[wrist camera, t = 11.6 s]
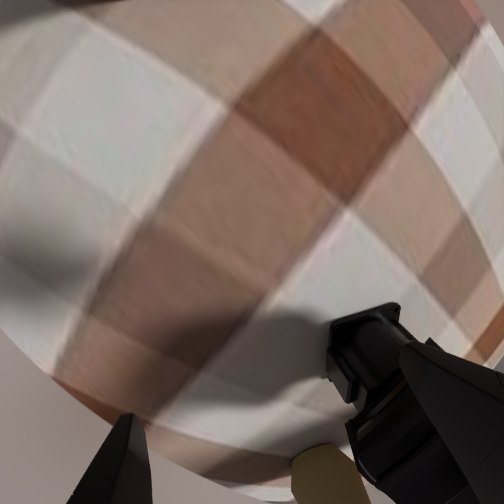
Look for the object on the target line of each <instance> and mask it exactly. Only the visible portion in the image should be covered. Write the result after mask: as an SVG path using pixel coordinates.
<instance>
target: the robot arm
mask: <svg viewBox="0 0 504 504" xmlns="http://www.w3.org/2000/svg"><path fill="white" fill-rule="evenodd" d="M400 310H401V306H400V305H399V304H398V303H392V304H389V305H386V306H383V307H380V308H377V309H374V310H371V311H368V312H364V313H361V314H358V315H355V316H352V317H348V318H345V319H342V320H338V321H335V322H333V323H332V324H331V326H330V335H329V347H328V349H327V356H326V372H327V374H328V375H327V377H328V379H329V381H330V382H333V384H334V385H335V387H336V388H337V390H338V392H339V393H340V395H341V397H342V398H343V400H344V402H345V403H347V404H350V403H353V404H354V406H355V408H356V409H357V411H358V412H359V413H358V414H357V415H356V416H354V417H353V418H352V419H349V420H348V421H347V422H346V423H345V428H346V431H347V435H348V439H349V442H350V445H351V449H352V452H353V456H354V460H355V463H356V467H357V470H358V472H359V473H360V474H362V476H363V477H364V478H365V479H366V480H367V481H368V482H370V483H371V484H372V485H374V486H375V487H376V488H377V489H379V490H380V491H382V492H384V493H385V494H386V495H387V496H388V497H390V498H391V499H392V500H393V501H394V502H395V503H396V504H504V374H503V373H501V372H498V371H494V370H492V369H490V368H487V367H484V366H482V365H479V364H476V363H473V362H471V361H468V360H465V359H463V358H460V357H457V356H455V355H452V354H450V353H447V352H445V351H444V350H443V349H442V348H441V347H440V346H439V345H438V344H437V343H436V342H434V341H433V340H432V339H431V338H430V337H429V338H428V340H427V341H426V342H425V344H423V343H421V342H419V341H418V340H417V339H416V338H415V337H414V336H413V335H412V334H411V333H410V332H409V331H407V330H406V329H405V328H404V327H403V326H402V325H401V324H400V323H399V316H400ZM336 327H338V328H337V329H335V328H336ZM152 502H153V501H152V482H151V470H150V464H149V457H148V450H147V443H146V435H145V430H144V428H143V426H142V424H141V423H140V421H139V420H138V418H137V416H136V415H135V414H134V413H124V414H121V415H120V417H119V418H118V420H117V422H116V423H115V425H114V426H113V428H112V429H111V431H110V433H109V435H108V436H107V438H106V439H105V441H104V443H103V444H102V446H101V447H100V449H99V451H98V452H97V454H96V455H95V457H94V459H93V460H92V462H91V463H90V465H89V467H88V469H87V470H86V472H85V474H84V475H83V477H82V478H81V480H80V482H79V483H78V485H77V487H76V489H75V490H74V492H73V495H71V496H70V498H69V500H68V501H67V503H66V504H153V503H152Z"/></svg>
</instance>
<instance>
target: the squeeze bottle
mask: <svg viewBox="0 0 504 504" xmlns="http://www.w3.org/2000/svg"><path fill="white" fill-rule="evenodd" d="M291 492H292V493H293V495H294V497H295V499H296V501H297V503H298V504H371V502H370V499H369V497H368V494H367V492H366V489H365V486H364V484H363V481H362V479H361V476H360V474H359V472H358V470H357V467H356V464H355V463H354V462H353V461H352V460H351V459H350V458H349V457H348V456H346V455H345V454H344V453H343V452H342V451H341V450H339V449H338V448H337V447H336V446H335V445H331V444H327V445H320V446H317V447H314V448H311V449H309V450H307V451H305V452H303V453H301V454H300V455H298V456H297V457H296V458H295V459H294V460H293V461H292V477H291Z"/></svg>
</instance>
